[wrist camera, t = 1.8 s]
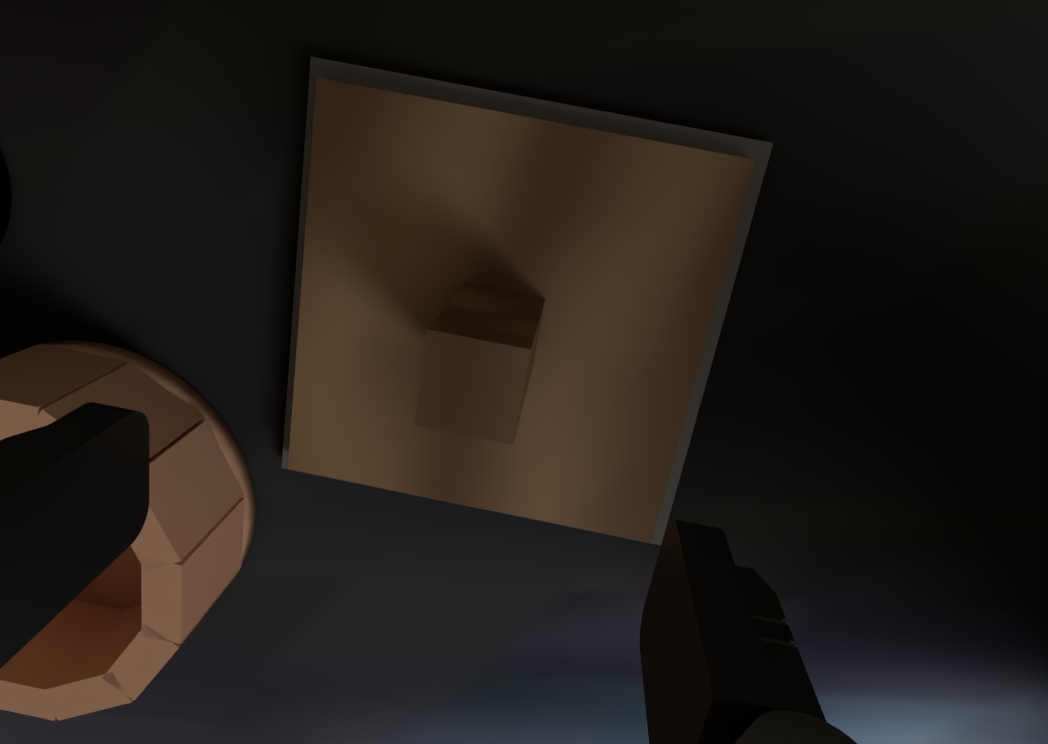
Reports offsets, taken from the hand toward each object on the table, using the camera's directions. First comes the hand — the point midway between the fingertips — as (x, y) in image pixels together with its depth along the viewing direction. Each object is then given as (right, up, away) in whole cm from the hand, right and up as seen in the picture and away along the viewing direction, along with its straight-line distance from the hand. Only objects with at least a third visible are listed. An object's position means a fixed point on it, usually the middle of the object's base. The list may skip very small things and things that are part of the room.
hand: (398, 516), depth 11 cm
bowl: (-13, -2, +15) cm, 20 cm away
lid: (+1, +4, +11) cm, 12 cm away
